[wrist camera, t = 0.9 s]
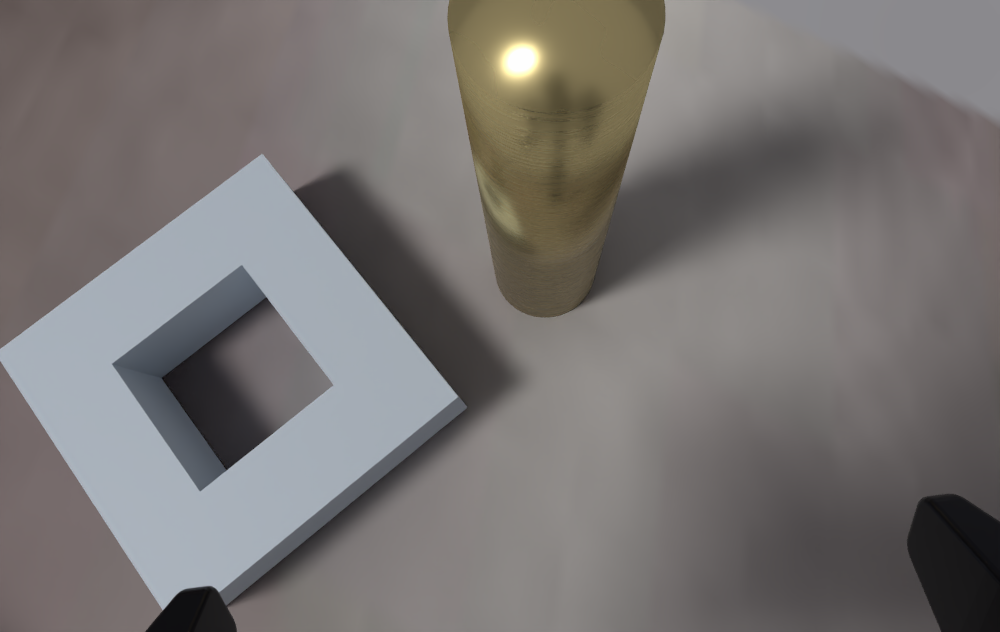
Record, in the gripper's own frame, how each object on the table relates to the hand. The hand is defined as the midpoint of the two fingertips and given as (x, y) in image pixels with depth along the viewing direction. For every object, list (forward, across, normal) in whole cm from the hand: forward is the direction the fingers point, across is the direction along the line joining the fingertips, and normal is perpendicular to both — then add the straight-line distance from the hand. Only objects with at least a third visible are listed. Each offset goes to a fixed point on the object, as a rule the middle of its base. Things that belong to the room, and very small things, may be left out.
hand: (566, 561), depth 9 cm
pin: (+16, -1, +5) cm, 16 cm away
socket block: (+14, +9, +7) cm, 18 cm away
